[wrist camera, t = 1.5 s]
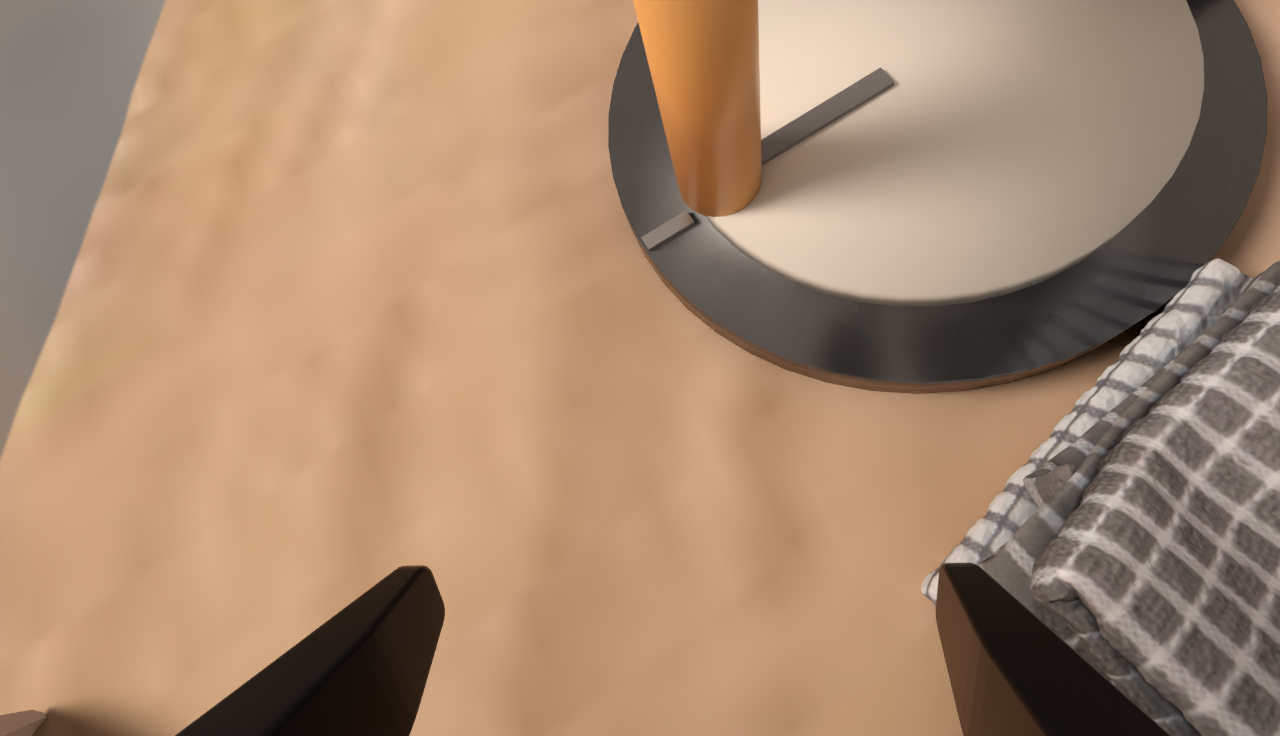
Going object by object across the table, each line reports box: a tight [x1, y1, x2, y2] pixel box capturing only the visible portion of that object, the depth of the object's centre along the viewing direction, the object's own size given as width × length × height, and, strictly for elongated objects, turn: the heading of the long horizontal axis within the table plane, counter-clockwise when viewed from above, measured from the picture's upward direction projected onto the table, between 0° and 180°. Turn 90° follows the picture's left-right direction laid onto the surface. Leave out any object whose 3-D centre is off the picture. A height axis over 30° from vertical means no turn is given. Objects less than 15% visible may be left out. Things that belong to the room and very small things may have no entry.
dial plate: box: [609, 0, 1267, 393], centre depth 25 cm, size 23×23×2 cm
